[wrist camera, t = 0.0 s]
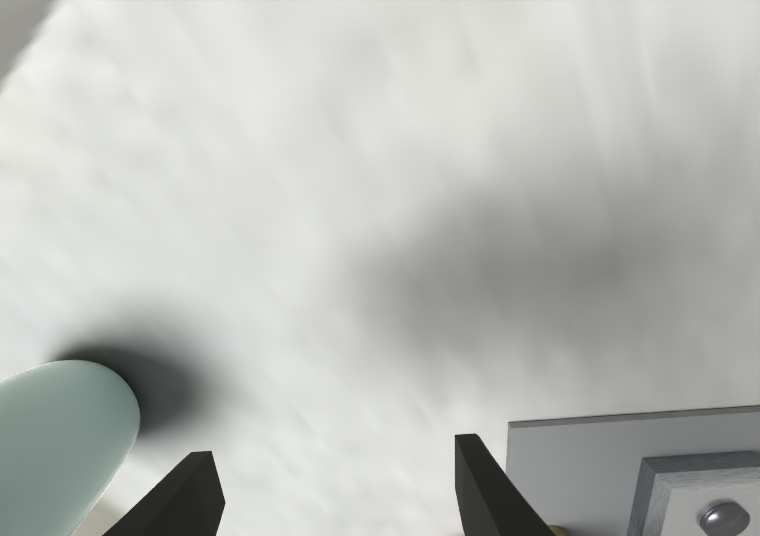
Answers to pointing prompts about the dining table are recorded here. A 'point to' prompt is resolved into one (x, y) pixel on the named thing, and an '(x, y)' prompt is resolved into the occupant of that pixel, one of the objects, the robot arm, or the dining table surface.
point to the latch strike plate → (697, 495)
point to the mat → (612, 460)
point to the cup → (61, 444)
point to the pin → (558, 530)
